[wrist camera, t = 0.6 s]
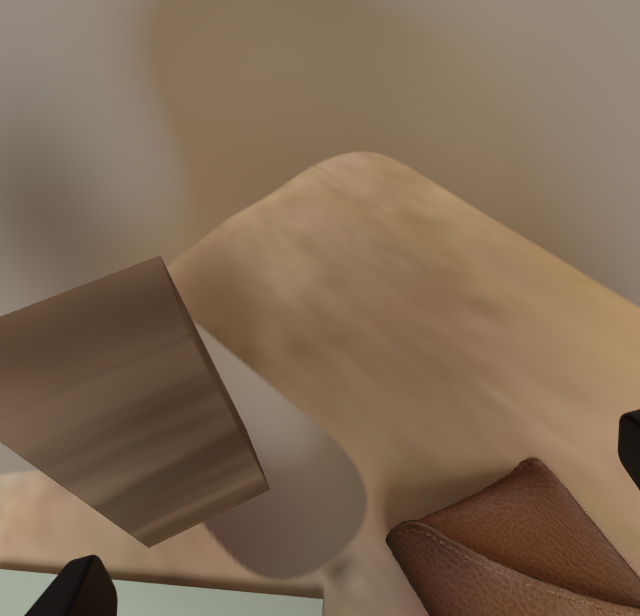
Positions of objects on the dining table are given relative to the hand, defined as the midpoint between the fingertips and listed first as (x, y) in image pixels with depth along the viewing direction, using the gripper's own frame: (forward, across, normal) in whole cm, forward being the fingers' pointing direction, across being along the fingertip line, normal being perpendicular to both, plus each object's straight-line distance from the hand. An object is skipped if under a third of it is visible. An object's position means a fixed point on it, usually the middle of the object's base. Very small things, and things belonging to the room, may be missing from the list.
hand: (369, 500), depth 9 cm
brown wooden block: (+14, +7, +11) cm, 19 cm away
